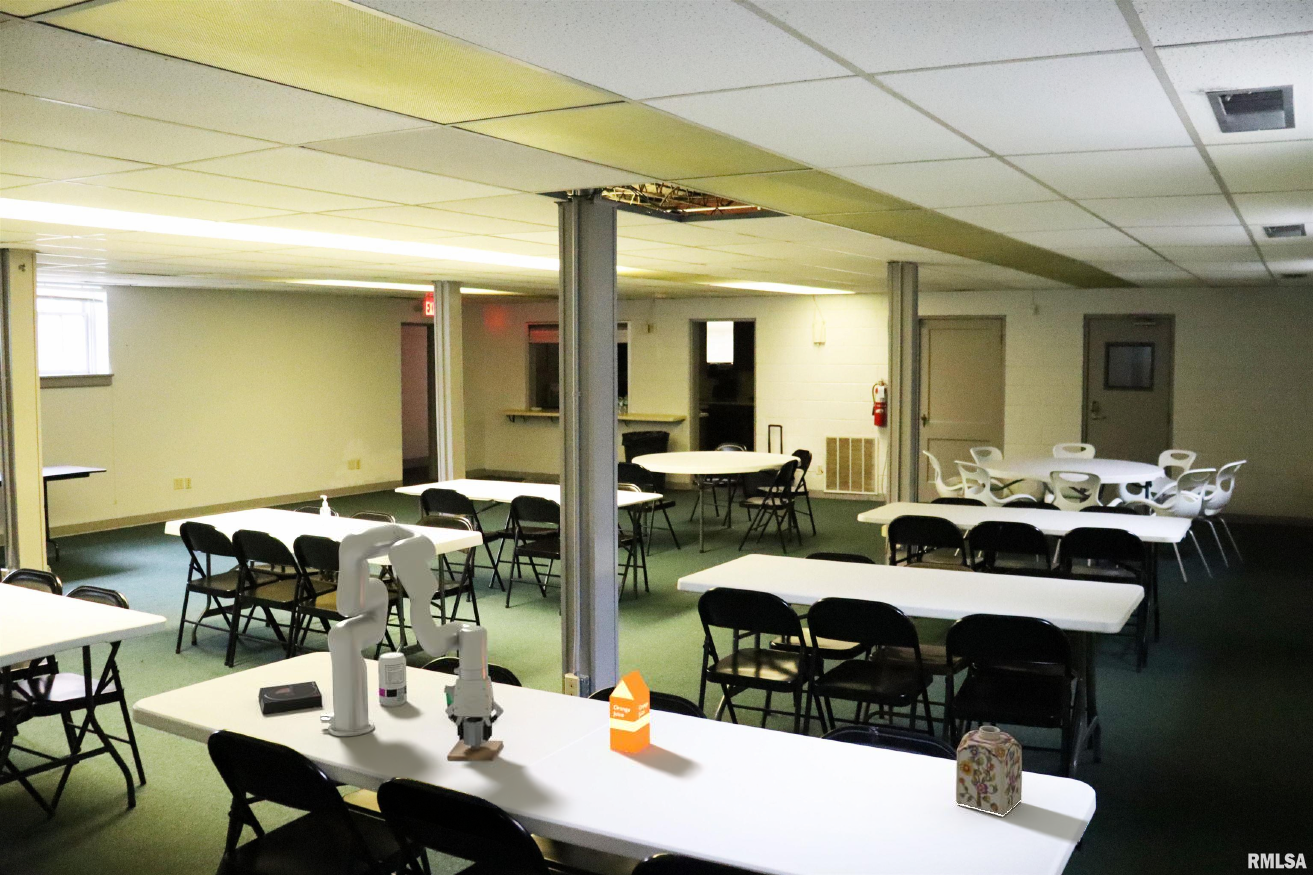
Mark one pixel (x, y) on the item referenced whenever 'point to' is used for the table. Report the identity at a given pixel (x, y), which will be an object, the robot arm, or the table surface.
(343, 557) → the robot arm
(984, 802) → the decorative jar
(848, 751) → the table surface
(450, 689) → the food container
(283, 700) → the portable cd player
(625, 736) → the orange juice
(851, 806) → the table surface
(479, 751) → the wooden peg base
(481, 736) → the sleeve
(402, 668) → the supplement can
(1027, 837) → the table surface
